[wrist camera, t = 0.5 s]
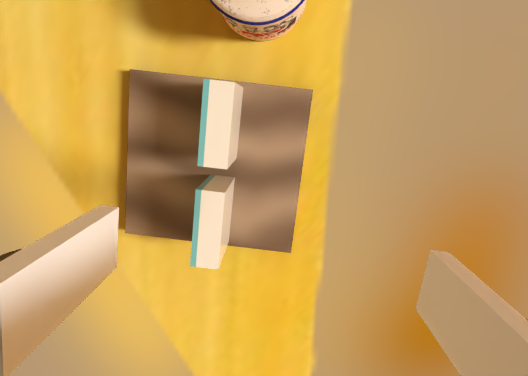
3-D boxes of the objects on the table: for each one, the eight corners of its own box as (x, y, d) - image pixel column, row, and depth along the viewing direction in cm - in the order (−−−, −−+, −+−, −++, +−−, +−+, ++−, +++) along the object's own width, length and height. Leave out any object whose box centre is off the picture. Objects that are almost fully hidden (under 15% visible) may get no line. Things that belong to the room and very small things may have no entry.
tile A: (218, 84, 35) (203, 78, 28) (243, 87, 35) (235, 82, 28) (212, 155, 37) (197, 166, 30) (236, 158, 37) (227, 169, 30)
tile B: (210, 174, 37) (195, 189, 30) (234, 177, 37) (225, 192, 30) (205, 238, 39) (190, 265, 32) (228, 241, 39) (218, 269, 32)
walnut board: (135, 70, 37) (129, 69, 35) (311, 90, 36) (312, 89, 35) (130, 228, 40) (125, 233, 39) (290, 247, 40) (290, 252, 39)
